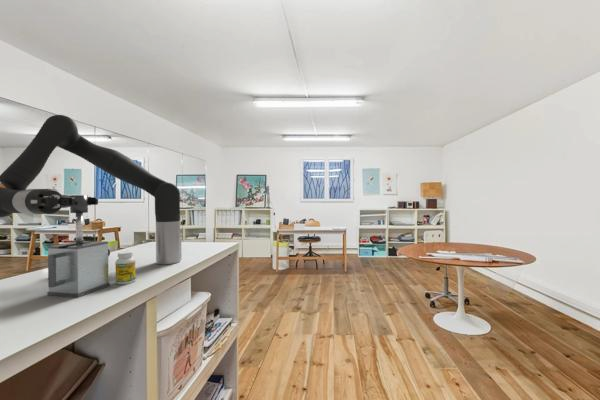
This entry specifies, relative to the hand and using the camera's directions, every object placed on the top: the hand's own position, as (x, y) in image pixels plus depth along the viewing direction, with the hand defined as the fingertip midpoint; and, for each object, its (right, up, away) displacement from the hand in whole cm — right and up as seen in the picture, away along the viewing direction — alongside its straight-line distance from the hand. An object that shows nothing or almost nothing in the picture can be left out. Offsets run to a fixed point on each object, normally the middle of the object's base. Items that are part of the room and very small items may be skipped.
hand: (85, 201), depth 79 cm
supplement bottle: (+6, -26, +8) cm, 28 cm away
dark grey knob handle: (-2, -16, 0) cm, 16 cm away
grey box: (-2, -26, -1) cm, 26 cm away
